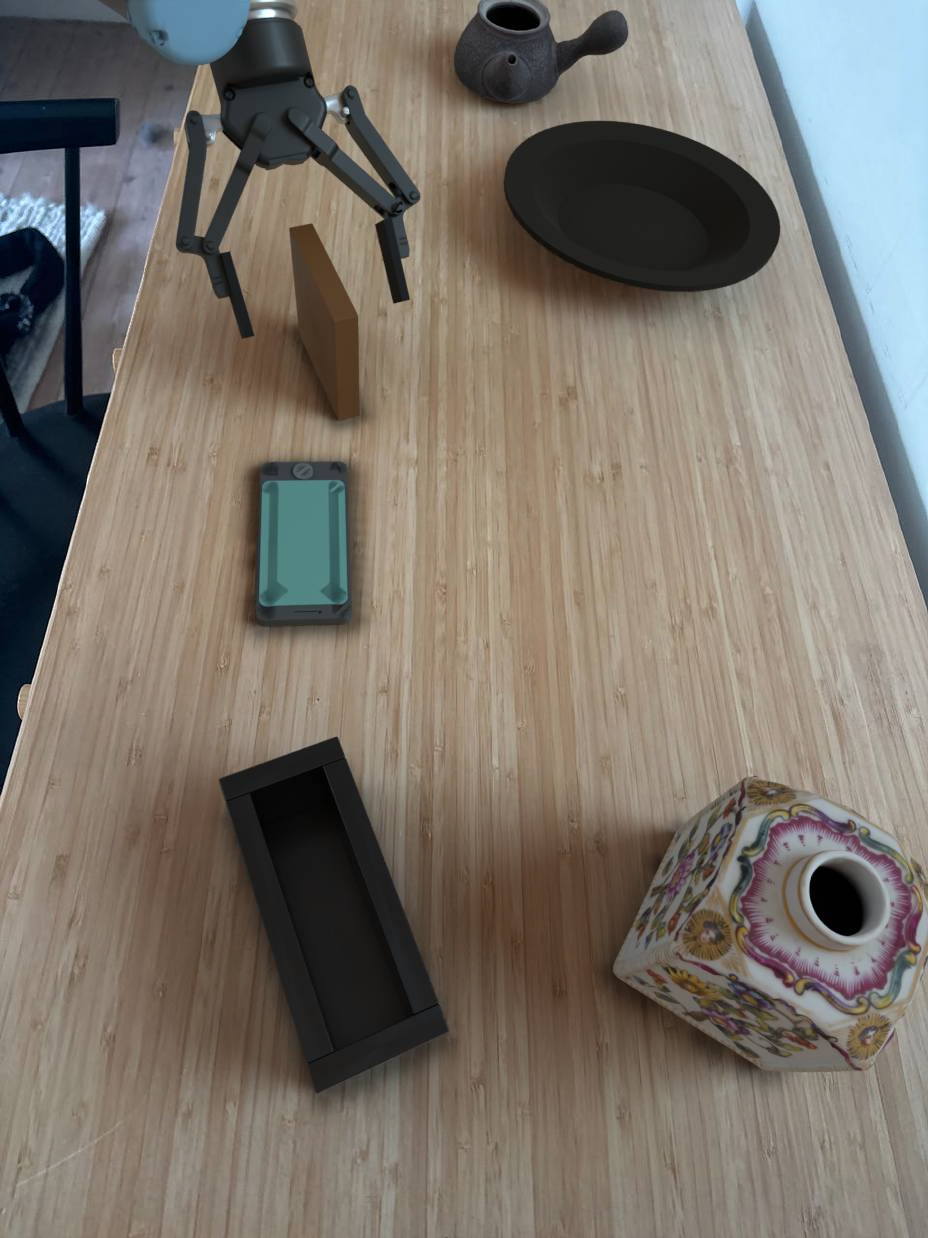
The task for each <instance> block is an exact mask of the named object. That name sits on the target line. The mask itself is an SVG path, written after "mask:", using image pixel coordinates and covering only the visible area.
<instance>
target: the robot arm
mask: <svg viewBox="0 0 928 1238" xmlns="http://www.w3.org/2000/svg"><path fill="white" fill-rule="evenodd" d="M97 1H98V2H99V3H101V4H102V5H104V6H106V7H108V8H109V9H111V10H112V11H114V12H115V13H117V14H118V15H120V17H122V18H124V19H125V20H126V21H127V22H128V23H129V24H130V27H132V29H133V30H134V32H135V34H136V35H137V36H138V38H139V39H140V40H142V42H144V43H146V44H147V45H149V46H151V47H152V48H153V49H154V50H155V51H156V52H158V53H159V54H160V55H161V56H162V57H163V58H165V59H167V60H169V61H170V62H173V63H175V64H177V65H182V66H190V67H198V66H199V67H200V66H204V65H209V67H210V71H211V74H212V78H213V83H214V86H215V89H216V92H217V96H218V100H219V106H220V113H215V114H214V113H213V114H212V113H211V114H201V113H200V112H199V111H197V110H194V109H191V110H189V111H188V112H187V113H186V115H185V120H184V125H183V127H184V132H185V138H186V143H187V144H186V145H187V149H188V154H187V162H186V168H185V176H184V183H183V189H182V197H181V203H180V210H179V216H178V223H177V231H176V236H175V237H176V238H175V248H176V250H177V251H178V252H179V253H181V254H190V255H196V256H198V257H200V258H201V259H202V260H203V262H204V263H205V267H206V271H207V275H208V277H209V280H210V284H211V287H212V291H213V293H214V295H215V296H216V298H217V299H218V300H221V299H227V298H229V301H230V306H231V307H232V312H233V314H234V317H235V322H236V326H237V328H238V332H239V335H240V338H241V340H244V339H248V338H252V337H255V332H254V329H253V325H252V321H251V319H250V315H249V311H248V309H247V304H246V302H245V297H244V294H243V291H242V287H241V284H240V281H239V277H238V274H237V271H236V267H235V264H234V260H233V256H232V253H231V251H230V250H229V251H223V252H221V251H220V247H221V243H222V242H223V240H224V237H225V236H226V235H225V234H226V232H227V230H228V227H229V225H230V223H231V220H232V219H233V216H234V214H235V211H236V209H237V207H238V204H239V202H240V199H241V197H242V194H243V192H244V190H245V188H246V185H247V183H248V180H249V178H250V176H251V174H252V171H253V169H254V167H255V166H257V167H258V168H260V169H264V170H265V171H271V170H276V169H278V168H280V167H281V166H283V165H287V166H300V165H303V164H304V163H305V162H307V161H309V159H310V158H311V159H312V160H313V161H314V162H316V163H317V164H318V165H319V166H321V167H323V168H325V169H326V170H328V172H330V173H331V174H332V175H333V176H334V177H336V179H337V180H338V181H340V182H341V183H342V184H343V185H345V186H346V187H347V188H348V189H349V190H350V191H351V192H352V193H354V194H355V195H356V196H357V197H358V198H360V200H361V201H363V202H364V203H365V204H366V205H367V206H368V207H370V208H371V209H372V210H373V211H374V212H375V213H377V214H378V215H379V216H380V217H381V218H382V220H379V221H378V222H377V223H375V224H374V228H375V231H376V236H377V240H378V245H379V249H380V253H381V258H382V261H383V266H384V270H385V275H386V278H387V283H388V287H389V291H390V296H391V300H392V305H393V304H394V305H395V304H399V303H403V302H408V301H410V300H411V296H410V292H409V289H408V284H407V280H406V279H407V278H406V275H405V271H404V266H403V262H402V260H404V259H406V258H409V257H410V251H411V248H410V244H409V240H408V236H407V231H406V226H405V221H404V214H405V213H406V211H408V210H409V209H410V208H412V207H413V206H414V205H416V204H418V203H419V202H420V200H421V192H420V190H419V189H418V188H417V186H416V185H415V183H414V182H413V180H412V179H411V177H410V176H409V174H408V173H407V172H406V170H405V169H404V168H403V166H402V165H401V163H400V162H399V160H398V159H397V158H396V156H395V154H394V153H393V151H392V150H391V149H390V148H389V146H388V145H387V144H386V142H385V140H384V139H383V137H382V136H381V134H380V133H379V131H378V130H377V129H376V127H375V126H374V125H373V122H371V120H370V119H369V117H368V116H367V114H366V112H365V109H364V106H363V103H362V98H361V96H360V93H359V91H358V89H357V88H356V87H355V86H354V85H352V84H350V85H347V86H345V87H344V88H343V90H342V91H340V92H336V93H333V94H331V95H327V96H324V97H323V95H322V94H321V93H320V91H319V89H318V87H317V85H316V81H315V77H314V73H313V72H314V71H313V68H312V64H311V60H310V56H309V52H308V48H307V44H306V40H305V36H304V30H303V28H302V26H301V24H299V23H298V22H297V21H296V17H297V16H298V14H299V11H298V6H297V2H296V0H97ZM327 115H331V116H332V117H333V118H334V119H335V122H337V124H340V125H344V126H345V128H346V130H347V133H348V134H349V135H350V137H351V139H352V140H353V141H354V143H355V145H356V146H357V147H358V148H359V151H361V152H362V154H363V155H364V157H365V158H366V159H367V161H368V162H369V164H370V165H371V167H372V168H373V169H374V171H375V172H376V174H377V175H378V176H379V178H380V179H381V181H382V182H383V183H384V185H385V186H386V188H387V189H388V190H389V191H388V190H387V189H386V188H385V187H383V185H382V184H380V183H379V182H378V181H377V180H376V179H374V177H372V175H370V174H369V173H368V172H366V170H364V169H363V168H362V167H361V166H360V165H359V164H358V163H357V162H356V161H354V160H353V159H352V158H351V157H350V156H349V155H348V154H346V153H345V152H344V151H343V150H342V148H340V146H339V144H338V143H337V142H336V141H335V140H334V139H333V138H332V137H331V136H329V134H327V133H326V132H325V130H323V127H324V125H325V121H326V118H327ZM218 133H222V134H223V135H224V136H225V137H226V138H227V139H228V140H229V141H230V142H231V143H232V144H233V145H234V146H235V147H236V148H237V149H238V150H239V151H240V152H239V155H238V157H237V159H236V162H235V163H234V166H233V168H232V171H231V174H230V176H229V178H228V180H227V183H226V185H225V188H224V190H223V192H222V195H221V197H220V200H219V202H218V204H217V207H216V209H215V211H214V214H213V216H212V219H211V221H210V223H209V226H208V227H207V231H206V232H205V235H204V236H200V235H196V227H197V222H198V214H199V207H200V201H201V195H202V187H203V181H204V180H203V179H204V174H205V168H206V161H207V152H208V151H207V150H208V148H211V147H213V145H215V141H216V135H217V134H218Z"/></svg>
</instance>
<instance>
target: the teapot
mask: <svg viewBox="0 0 928 1238" xmlns="http://www.w3.org/2000/svg"><path fill="white" fill-rule="evenodd" d="M476 9H477V12H476V13H475V15H474V16H473V17H472V18H471V19H470V20H469V22H468V24H466V26H465V27H464V29H463V31H462V32H461V34H460V35H459V39H458V41H457V44H456V46H455V49H454V53H453V66H454V70H455V74H456V76H457V78H458V80H459V81H460V82H461V83H462V85H464V86H465V87H466V88H467V89H468V90H470V91H471V92H473V93H475V94H476V95H479V96H480V97H483V98H486V99H490V100H492V101H497V102H501V103H508V104H520V103H521V104H522V103H532V102H535V101H537V100H540V99H542V98H544V97H545V96H547V95H548V94H549V93H550V92H551V91H552V90H553V89H554V88H555V86H556V85H557V83H558V81H559V78H560V76H561V75H563V73H566V71H568V70H569V69H571V68H572V67H573V66H574V65H575V64H576V63H577V62H578V61H580V60H581V59H582V58H584V57H587V56H605V55H609V54H611V53H614V52H616V51H617V50H619V49H620V48H622V47H623V46H624V45H625V43H626V42H627V41H628V37H629V26H628V21H627V19H626V17H625V16H624V13H622V12H621V11H620V10H618V9H612V10H607V11H605V12H604V13H602V14H600V15H599V16H598V17H596V18H595V19H594V20H593V21H592V22H591V24H590V25H589V27H588V28H587V29H585V31H584V32H583V33H582V34H580V35H579V36H578V37H576V38H573V39H568V40H562V41H559V42H557V40H556V38H555V35H554V33H553V30H552V28H551V26H550V22H551V13H550V11H549V9H548V7H547V6H546V5H545V4H544V3H543V2H542V1H541V0H480V1H479V2H478V3H477V7H476Z"/></svg>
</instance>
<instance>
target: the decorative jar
mask: <svg viewBox="0 0 928 1238" xmlns="http://www.w3.org/2000/svg"><path fill="white" fill-rule="evenodd" d="M927 963H928V877H927V875H926V873H925V872H924V868H923V865H922V864H920V863H919V862H918V861H917V860H916V859H915V857H914V856H912V855H911V854H910V853H909V852H908V851H907V850H906V848H905V847H904V846H903V844H902V842H901V841H900V839H899V838H897V836H895V835H894V834H893V833H891V832H890V831H889V830H886V829H885V828H883V827H882V826H879V825H878V824H876V823H874V822H873V821H871V820H869V819H868V818H866V817H865V816H863V815H861V814H860V813H858V812H857V811H855V810H854V809H852V808H851V807H848V806H847V805H844V804H842V803H840V802H837V801H835V800H833V799H831V798H829V797H826V796H824V795H822V794H818V793H815V792H811V791H809V790H804V789H798V788H795V787H791V786H789V785H787V784H783V783H779V782H775V781H770V780H765V779H762V778H761V777H759V776H758V775H752V776H751V775H750V776H746V777H743V778H742V779H741V780H740V781H739V782H737V783H735V784H734V785H733V786H732V787H731V788H729V789H727V790H726V791H725V792H723V793H722V794H721V795H720V796H718V797H717V798H715V799H714V800H713V801H711V802H710V803H708V804H707V805H705V807H703V808H701V810H699V811H698V812H697V813H695V814H693V816H692V817H690V818H689V819H688V820H686V822H685V823H684V824H683V825H681V826H680V827H679V828H678V829H677V830H676V832H675V834H674V836H673V838H672V839H671V841H670V844H669V846H668V847H667V850H666V852H665V854H664V856H663V857H662V859H661V862H660V863H659V866H658V869H657V870H656V872H655V874H654V877H653V879H652V880H651V883H650V885H649V888H648V890H647V892H646V895H645V896H644V898H643V900H642V903H641V905H640V908H639V909H638V911H637V914H636V916H635V918H634V921H633V922H632V926H631V927H630V929H629V931H628V934H627V935H626V937H625V939H624V941H623V943H622V946H621V948H620V950H619V953H618V954H617V956H616V958H615V960H614V963H613V966H612V972H613V974H614V975H615V977H616V978H617V979H618V980H621V981H622V982H624V983H625V984H627V985H628V986H630V987H631V988H633V989H635V990H636V991H638V992H639V993H641V994H642V995H644V996H646V997H647V998H649V999H651V1000H652V1001H653V1002H655V1003H656V1004H658V1005H659V1006H661V1007H662V1008H664V1009H666V1010H668V1011H670V1012H672V1013H673V1014H674V1015H676V1016H677V1017H679V1018H680V1019H682V1020H683V1021H685V1022H686V1023H688V1024H689V1025H692V1027H695V1028H696V1029H697V1030H699V1031H701V1032H702V1033H704V1034H705V1035H708V1036H709V1037H710V1038H712V1039H713V1040H715V1041H716V1042H718V1043H720V1044H721V1045H723V1046H725V1047H726V1048H728V1049H730V1050H731V1051H733V1052H735V1053H736V1054H738V1055H739V1056H741V1057H742V1058H744V1059H745V1060H746V1061H749V1062H751V1063H752V1064H753V1065H755V1066H756V1067H758V1068H759V1069H761V1070H763V1071H766V1072H768V1071H769V1072H777V1073H778V1072H783V1073H832V1072H835V1073H836V1072H837V1073H838V1072H840V1073H841V1072H864V1071H865V1072H866V1071H868V1070H870V1069H871V1068H872V1067H873V1065H874V1063H875V1062H876V1061H875V1060H876V1058H877V1057H878V1055H880V1054H881V1053H882V1052H883V1051H884V1049H885V1048H886V1047H887V1045H888V1044H889V1043H890V1042H891V1040H892V1039H893V1037H894V1035H895V1030H896V1026H897V1025H898V1023H899V1021H900V1020H901V1019H902V1018H903V1017H904V1016H905V1014H906V1013H907V1010H908V1008H909V1007H910V1006H911V1004H912V1002H913V1001H914V998H915V995H916V991H917V988H918V987H919V984H920V983H921V981H922V979H923V975H924V972H925V968H926V966H927Z"/></svg>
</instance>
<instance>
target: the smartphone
mask: <svg viewBox="0 0 928 1238" xmlns="http://www.w3.org/2000/svg"><path fill="white" fill-rule="evenodd" d="M259 475H260V477H259V506H258V507H259V509H258V532H257V534H256V536H255V537H256V538H255V539H256V540H255V561H256V564H255V568H254V569H255V570H254V575H255V576H254V582H255V583H254V602H255V604H256V608H255V610H256V612H255V615H256V618H257V621H258V623H259V624H260V625H261V626H263V627H281V626H284V627H285V626H314V625H316V626H318V625H319V626H320V625H344V624H345V625H346V624H347V623H349V622H350V621H351V619H352V616H353V615H352V585H351V584H352V583H351V581H352V580H351V552H350V551H351V547H350V546H351V545H350V514H349V513H350V512H349V479H348V478H349V476H348V475H349V474H348V466H347V464H346V463H345V462H343V461H340V460H339V461H335V460H334V461H266V462H264V463H263V464H261V465H260V473H259Z"/></svg>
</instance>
